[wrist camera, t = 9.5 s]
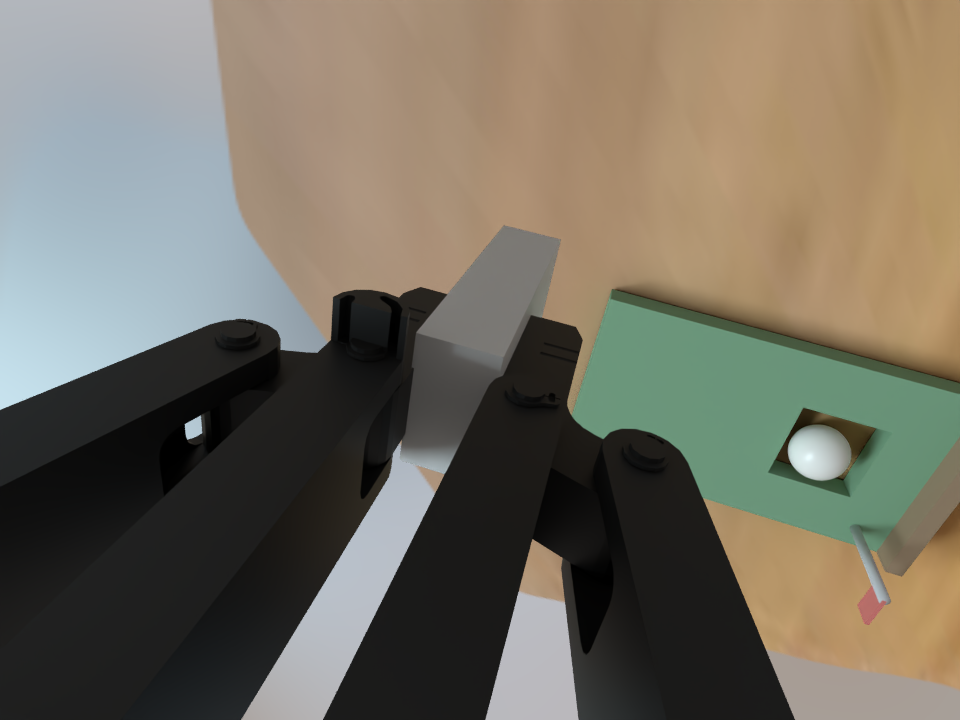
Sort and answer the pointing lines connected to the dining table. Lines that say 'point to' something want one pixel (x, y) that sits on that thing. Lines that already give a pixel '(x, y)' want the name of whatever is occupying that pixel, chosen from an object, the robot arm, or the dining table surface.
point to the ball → (819, 452)
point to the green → (781, 425)
